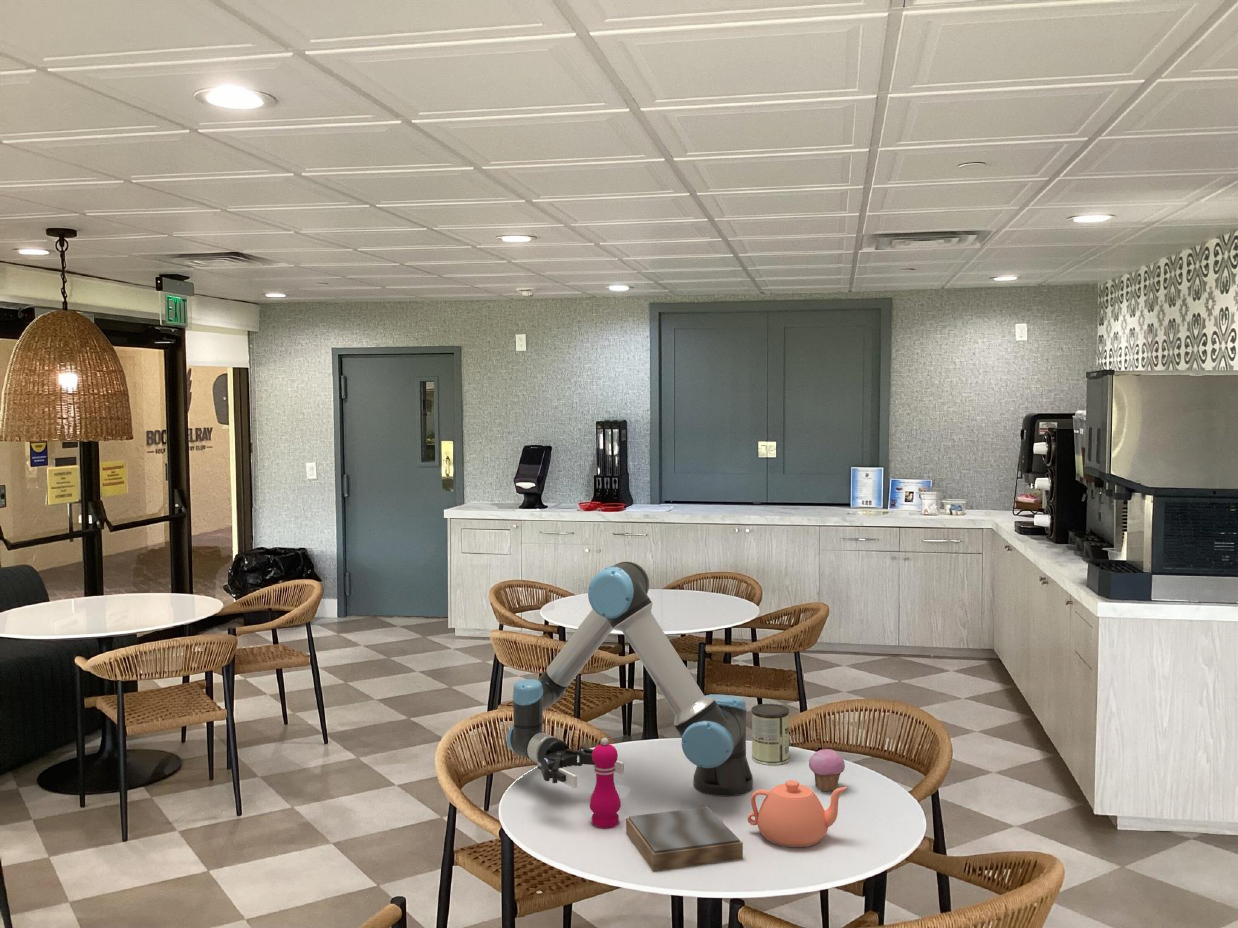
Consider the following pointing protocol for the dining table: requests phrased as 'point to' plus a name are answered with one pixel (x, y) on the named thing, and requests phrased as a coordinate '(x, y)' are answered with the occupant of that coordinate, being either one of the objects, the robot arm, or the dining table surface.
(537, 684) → the robot arm
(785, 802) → the teapot
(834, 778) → the cupcake
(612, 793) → the pepper mill
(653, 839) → the walnut stand
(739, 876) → the dining table surface
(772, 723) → the coffee can
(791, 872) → the dining table surface
